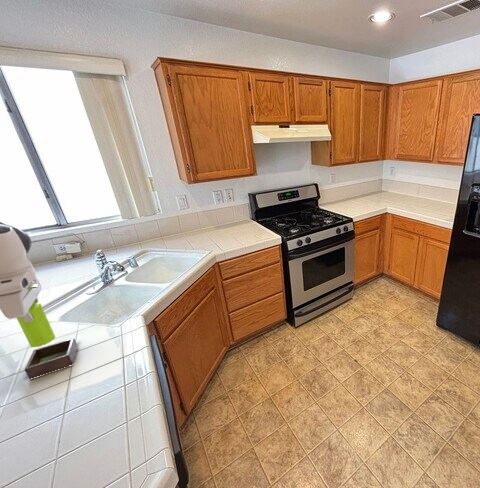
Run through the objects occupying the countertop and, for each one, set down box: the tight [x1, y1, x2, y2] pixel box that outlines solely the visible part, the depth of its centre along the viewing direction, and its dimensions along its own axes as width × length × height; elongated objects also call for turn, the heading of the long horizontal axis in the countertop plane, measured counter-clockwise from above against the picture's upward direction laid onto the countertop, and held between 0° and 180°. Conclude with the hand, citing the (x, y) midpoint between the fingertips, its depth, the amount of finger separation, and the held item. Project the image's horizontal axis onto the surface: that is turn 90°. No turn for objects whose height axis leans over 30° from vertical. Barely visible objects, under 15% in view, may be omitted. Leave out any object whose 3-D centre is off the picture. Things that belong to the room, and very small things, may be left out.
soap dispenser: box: [16, 285, 56, 348], centre depth 85 cm, size 6×7×20 cm
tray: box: [24, 337, 79, 380], centre depth 91 cm, size 11×11×5 cm
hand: (33, 315), depth 85 cm, fingers closed on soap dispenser, 6 cm apart
